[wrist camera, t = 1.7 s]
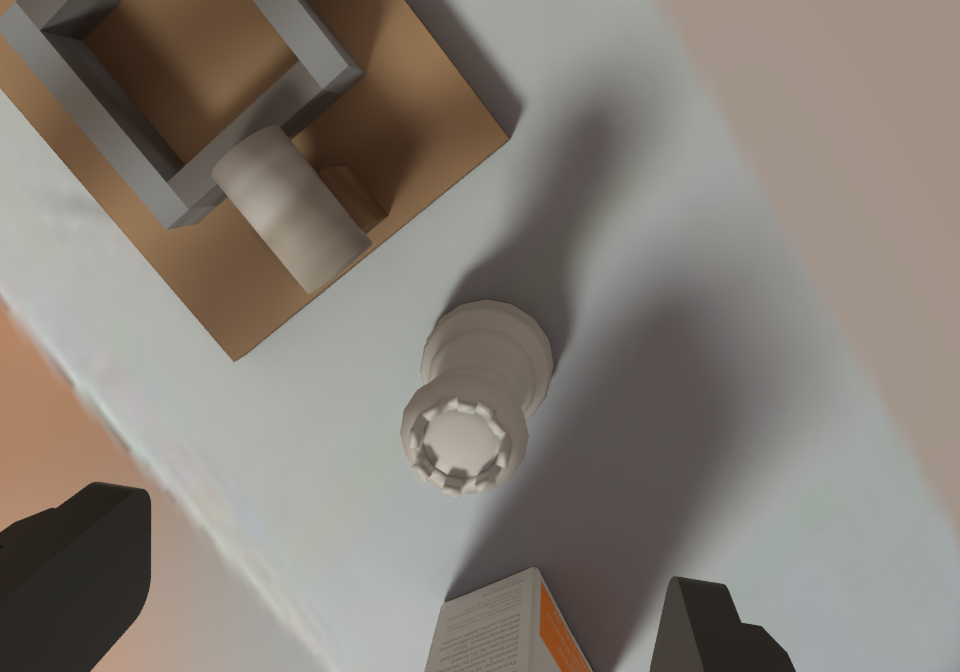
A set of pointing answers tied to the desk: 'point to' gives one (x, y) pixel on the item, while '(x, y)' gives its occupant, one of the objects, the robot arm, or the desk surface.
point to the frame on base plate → (247, 136)
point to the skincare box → (505, 631)
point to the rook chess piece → (476, 397)
